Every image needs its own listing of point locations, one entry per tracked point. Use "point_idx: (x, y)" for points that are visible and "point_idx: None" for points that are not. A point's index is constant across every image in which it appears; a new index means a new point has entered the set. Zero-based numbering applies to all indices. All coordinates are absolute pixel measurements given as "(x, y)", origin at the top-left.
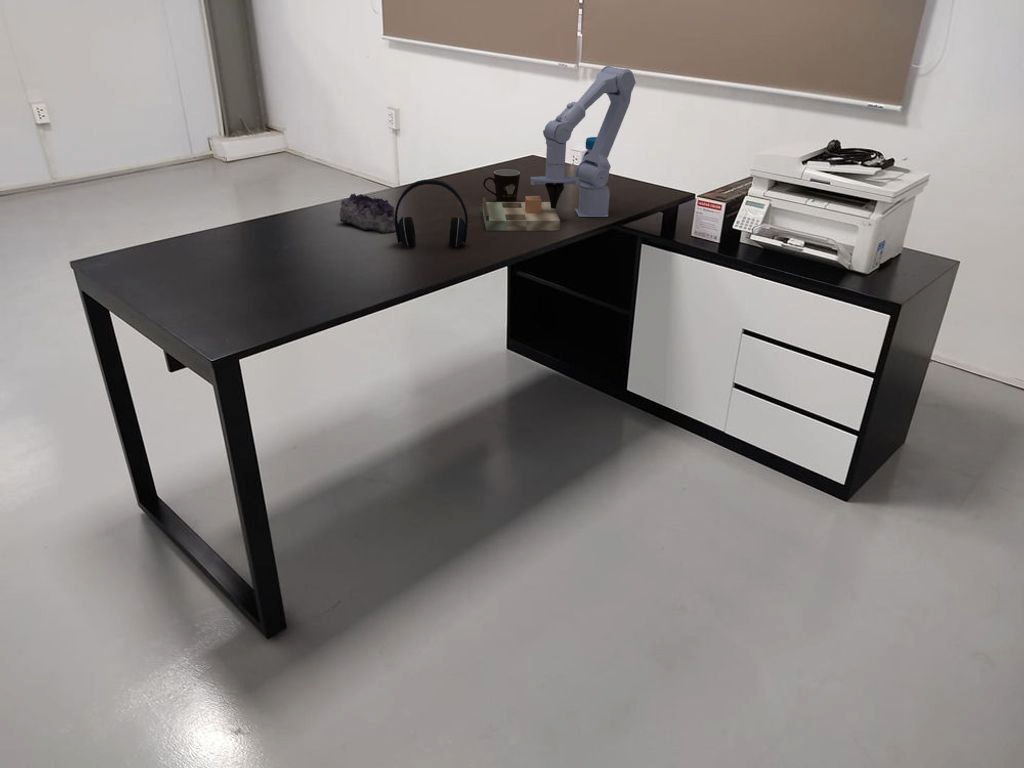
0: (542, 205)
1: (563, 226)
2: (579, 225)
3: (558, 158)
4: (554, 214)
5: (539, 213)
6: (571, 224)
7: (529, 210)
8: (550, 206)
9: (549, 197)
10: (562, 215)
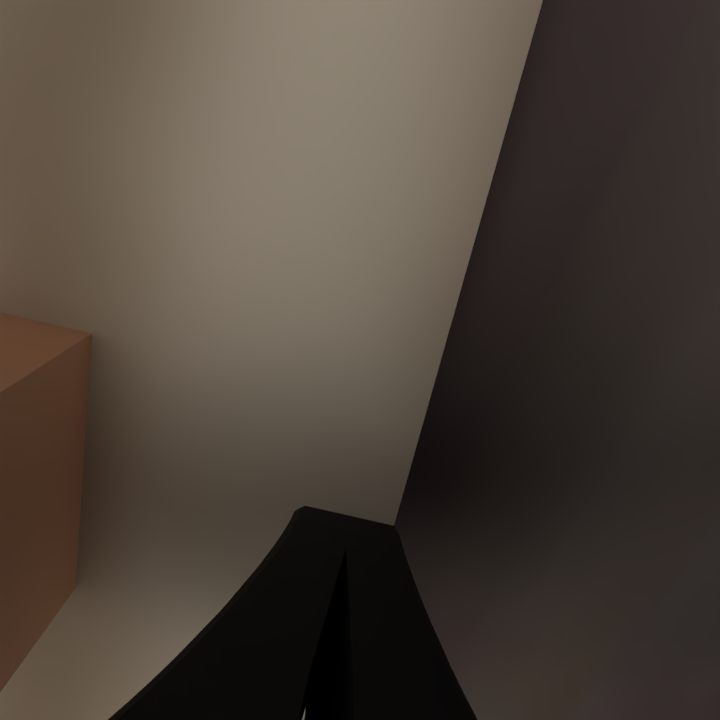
0: (235, 53)
1: None
2: (636, 701)
3: None
4: None
5: None
6: (552, 645)
7: None
8: (411, 200)
9: (196, 656)
10: (654, 203)
